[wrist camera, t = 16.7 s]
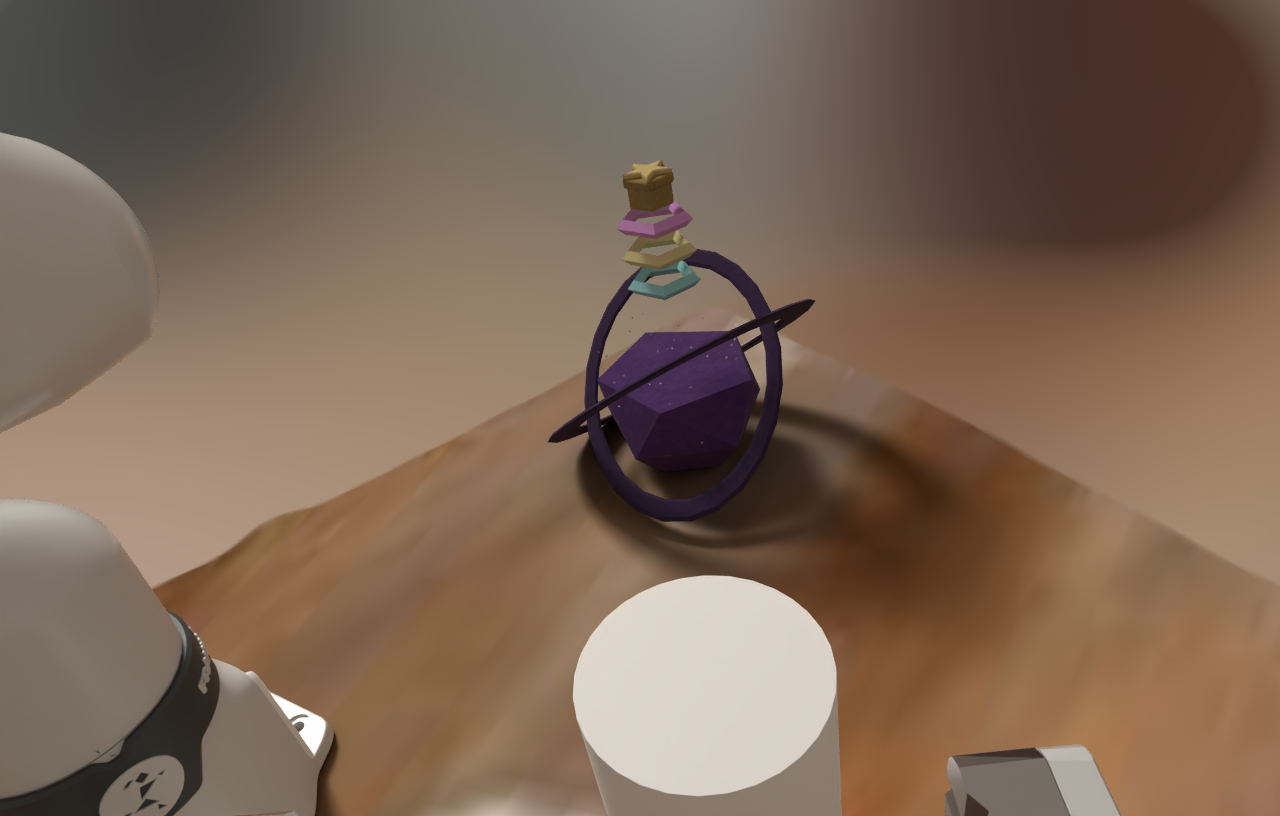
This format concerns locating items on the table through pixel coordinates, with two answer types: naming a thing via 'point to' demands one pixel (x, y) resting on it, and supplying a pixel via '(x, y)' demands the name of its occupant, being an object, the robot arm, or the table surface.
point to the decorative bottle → (680, 367)
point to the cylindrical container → (711, 704)
